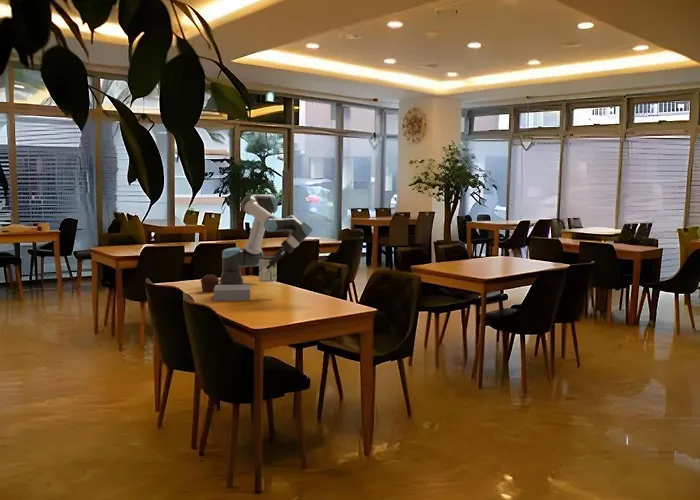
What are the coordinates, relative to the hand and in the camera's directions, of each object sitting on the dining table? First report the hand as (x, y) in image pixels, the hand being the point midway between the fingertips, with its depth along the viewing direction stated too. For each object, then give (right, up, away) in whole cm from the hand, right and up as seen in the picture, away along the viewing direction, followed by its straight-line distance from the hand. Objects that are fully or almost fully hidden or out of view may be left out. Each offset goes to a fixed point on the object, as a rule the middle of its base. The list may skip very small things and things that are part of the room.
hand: (262, 271), depth 383 cm
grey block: (-17, -15, -1) cm, 23 cm away
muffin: (-35, -13, +22) cm, 43 cm away
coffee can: (+3, -6, +1) cm, 6 cm away
